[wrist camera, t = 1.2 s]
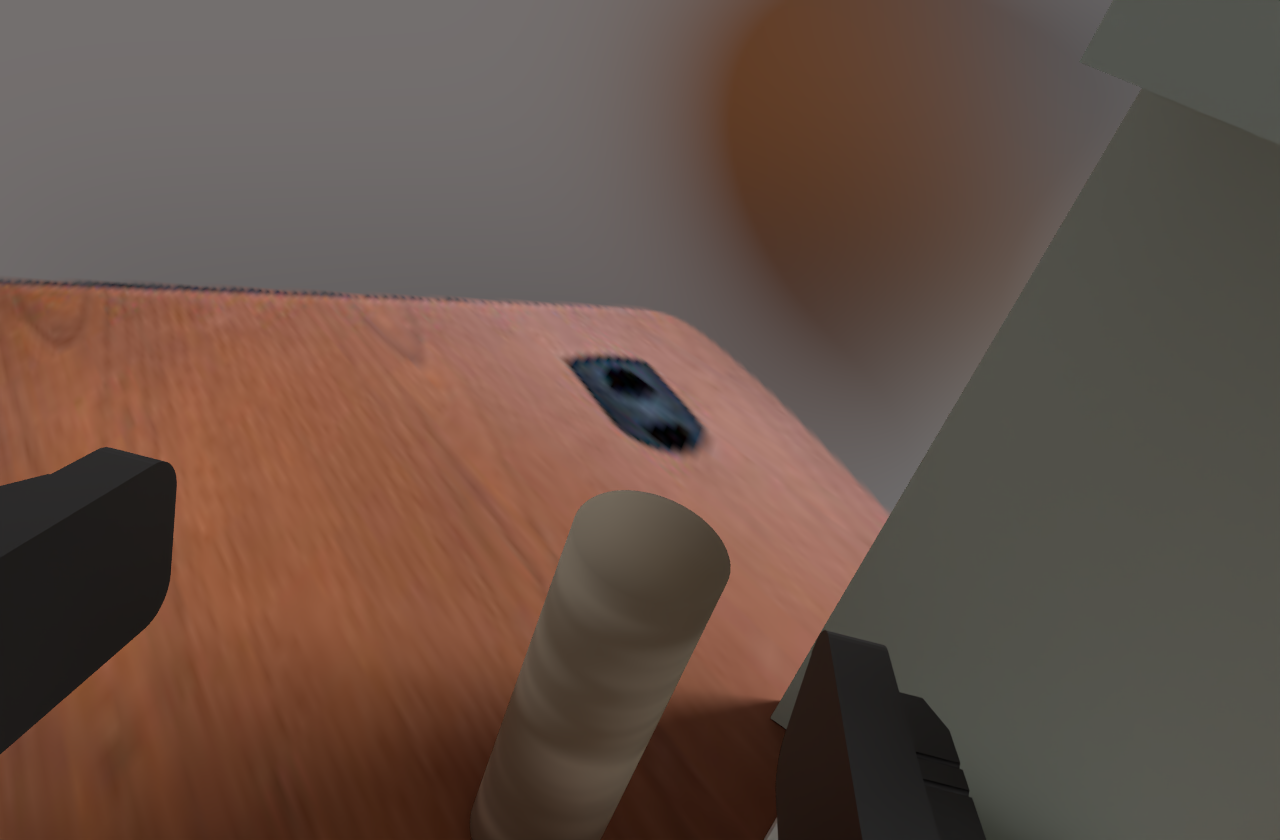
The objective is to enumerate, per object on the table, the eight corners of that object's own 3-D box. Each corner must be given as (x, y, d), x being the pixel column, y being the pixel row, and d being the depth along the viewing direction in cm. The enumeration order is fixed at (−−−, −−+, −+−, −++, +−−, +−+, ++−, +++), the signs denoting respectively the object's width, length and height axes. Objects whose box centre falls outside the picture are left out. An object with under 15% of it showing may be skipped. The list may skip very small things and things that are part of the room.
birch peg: (442, 829, 28) (539, 536, 22) (523, 747, 31) (628, 470, 25) (546, 918, 27) (681, 634, 21) (619, 823, 30) (756, 552, 24)
